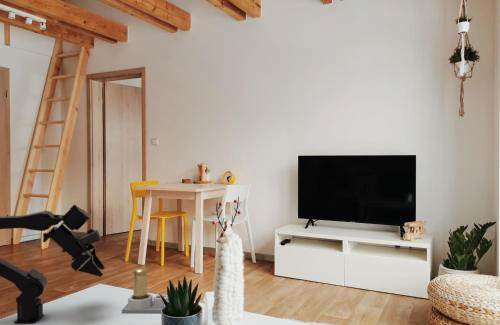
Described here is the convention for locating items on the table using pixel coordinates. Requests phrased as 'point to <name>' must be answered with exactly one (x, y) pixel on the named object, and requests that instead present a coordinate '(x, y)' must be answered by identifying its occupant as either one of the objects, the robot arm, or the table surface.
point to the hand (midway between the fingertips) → (102, 271)
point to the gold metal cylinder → (140, 283)
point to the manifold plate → (148, 310)
